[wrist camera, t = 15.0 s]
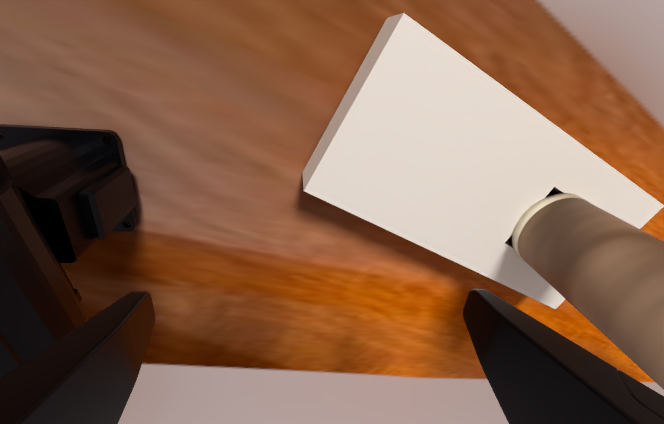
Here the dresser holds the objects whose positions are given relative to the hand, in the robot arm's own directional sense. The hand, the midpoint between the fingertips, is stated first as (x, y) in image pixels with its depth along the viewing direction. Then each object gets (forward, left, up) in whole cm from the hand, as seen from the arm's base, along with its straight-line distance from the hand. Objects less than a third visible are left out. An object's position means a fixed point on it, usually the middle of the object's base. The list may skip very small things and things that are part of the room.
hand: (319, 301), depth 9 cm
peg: (+16, -3, -12) cm, 21 cm away
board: (+12, -1, -13) cm, 18 cm away
